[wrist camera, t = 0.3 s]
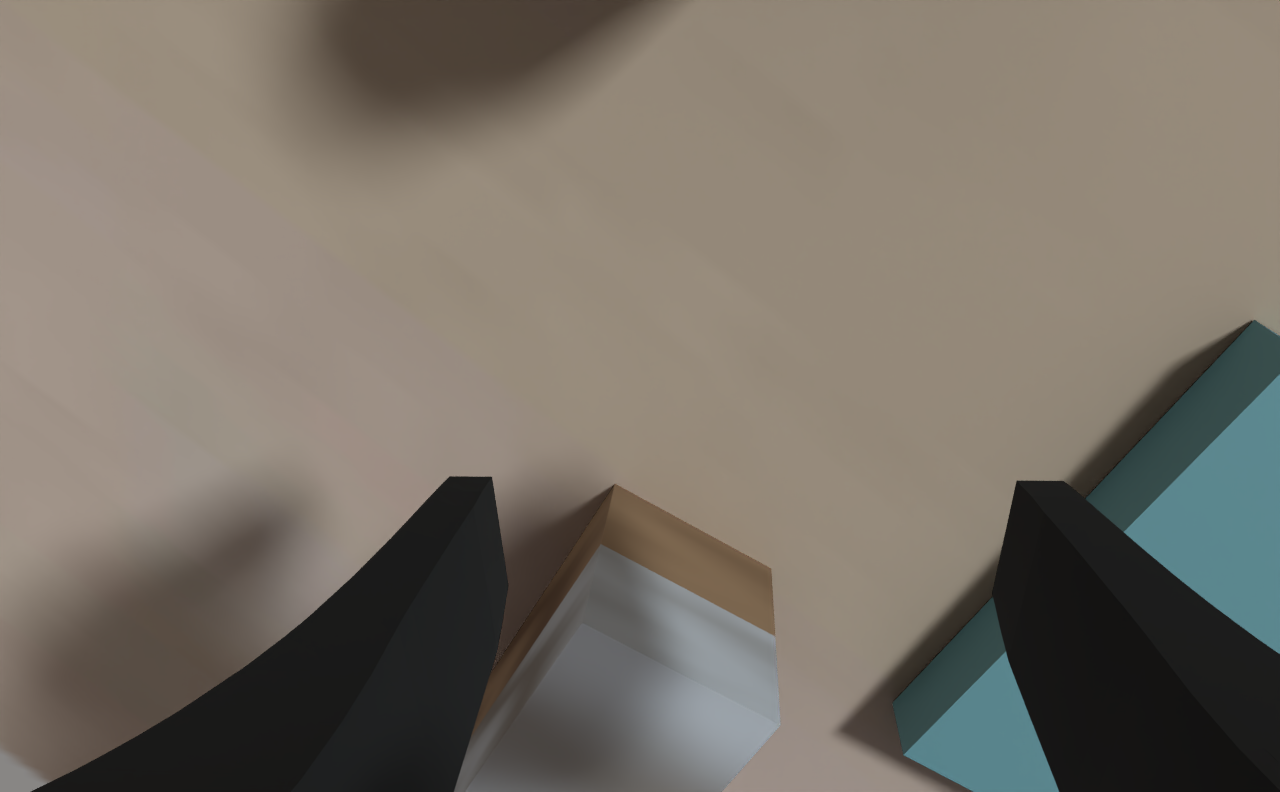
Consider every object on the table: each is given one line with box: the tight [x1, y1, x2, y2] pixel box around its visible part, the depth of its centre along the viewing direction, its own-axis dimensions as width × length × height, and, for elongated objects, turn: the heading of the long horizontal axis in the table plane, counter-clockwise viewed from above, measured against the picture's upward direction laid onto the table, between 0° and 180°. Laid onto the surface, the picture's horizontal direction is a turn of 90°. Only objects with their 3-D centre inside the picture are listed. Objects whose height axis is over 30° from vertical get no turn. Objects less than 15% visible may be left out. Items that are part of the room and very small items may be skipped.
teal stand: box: [892, 320, 1280, 792], centre depth 24 cm, size 14×14×2 cm
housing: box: [454, 484, 780, 792], centre depth 24 cm, size 8×5×6 cm, turn 150°
